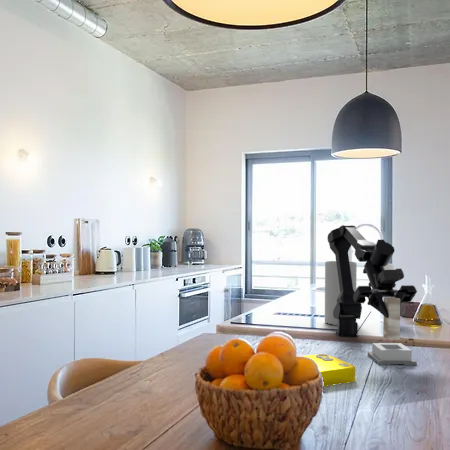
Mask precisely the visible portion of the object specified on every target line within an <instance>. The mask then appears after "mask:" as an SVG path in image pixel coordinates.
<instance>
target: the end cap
mask: <svg viewBox="0 0 450 450" xmlns="http://www.w3.org/2000/svg"><path fill="white" fill-rule="evenodd" d="M371 347H372V348H371V351H367V356H368V357H369V356H370V357H371V358H372V360H373V361H374V360H375V361H376V362H377V363H378V364H404V365H403V366H417V364H418V363H417V362H418V361H416V360H415V359H414V358H413V357H412V356H413V355H412V350H411V349H410V348H409V347H407V346H406V345H404V344H403V343H400V342H398V343H397V342H372V345H371ZM370 357H369V358H370ZM371 358H370V359H371ZM375 361H374V362H375ZM376 362H375V363H376ZM377 363H376V364H377ZM378 364H377V365H378Z"/></svg>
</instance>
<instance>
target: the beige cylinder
mask: <svg viewBox="0 0 450 450" xmlns="http://www.w3.org/2000/svg"><path fill="white" fill-rule="evenodd" d="M383 301H384V304H385V306H386V309H387V311H388V314H389V317H388V318H386V317H385V316H384V315H383V318H384V322H382V323H383V326H382V327H383V333H382V334H383V338H385V339H387V340H389V341H390V340H400V339H401V317H400V299H399V298H395V297H383Z"/></svg>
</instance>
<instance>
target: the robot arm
mask: <svg viewBox="0 0 450 450" xmlns="http://www.w3.org/2000/svg"><path fill="white" fill-rule="evenodd" d="M327 242H328V245H329V249H330V250H331V252H333V254H334V256H335V261H336V264H337V272H338V279H339V287H340V294H339V296H338V298H337V304H336V306H335V308H334V310H333V316H334V318H336V319H337V326H336V331H335V333H336V334H337V336H338V337H342V338H343V337H351V338H352V337H355V338H357V337H358V331H359V330H358V326H359V325H358V322H357V320H360V319H361V317H362V310H363V306H362V305H363V304H365V302H366V301H367V299H368V301H367V305H368V306H370V307H373V308H374V309H375V310H377V312H379V313H380V314H381V315H383V317H384V316H385V317H386V318H388V317H389V314H388V311H387V309H386V306H385V304H384V297H395V298H399V299H400V318H401V317H402V304H403V303H411V302H412V300H413V299H414V297H415V296H416V294H417V293H418V290H417V288H416V286H414V285H413V284H412V285H410V284H408V285H407V284H406V285H403V284H402V285H401V286H400V287H399V289H396V290H393V287H395V286H396V285H397V284H396V283H397V282H399V281H401V280H402V279H404V278H405V274H404V271H403V269H402V268H395V269H394V270H385V269H384V267H383V266H386V265H387V264H390V261H391V259H392V257H393V255H394V253H395V247H394V246H393V245H392V244H390V243H389V242H387V241H385V239H377V241H376V243H375V242H373V241H369V240H367V239H366V238H365V237H364V236H363V235H362V234H361V232H360V231H359V230H358V229H357V227H356V226H355V225H354V224H343V225H341V226H339V227H337V228H335V229H332V230H330V232H329V233H328V234H327ZM351 246H352V247H353V249H354V256H355V258H356V259H357V261H358V262H360V263H364V262H365V263H364V266H363V270H362V273H363V274H366V275H367V277H368V281H369V282H368V285H357V286H356V291H354V290H353V284H352V277H351V270H350V263H349V262H350V257H349V251H350V250H351V249H350V248H351ZM396 287H397V286H396ZM366 298H367V299H366Z"/></svg>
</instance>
